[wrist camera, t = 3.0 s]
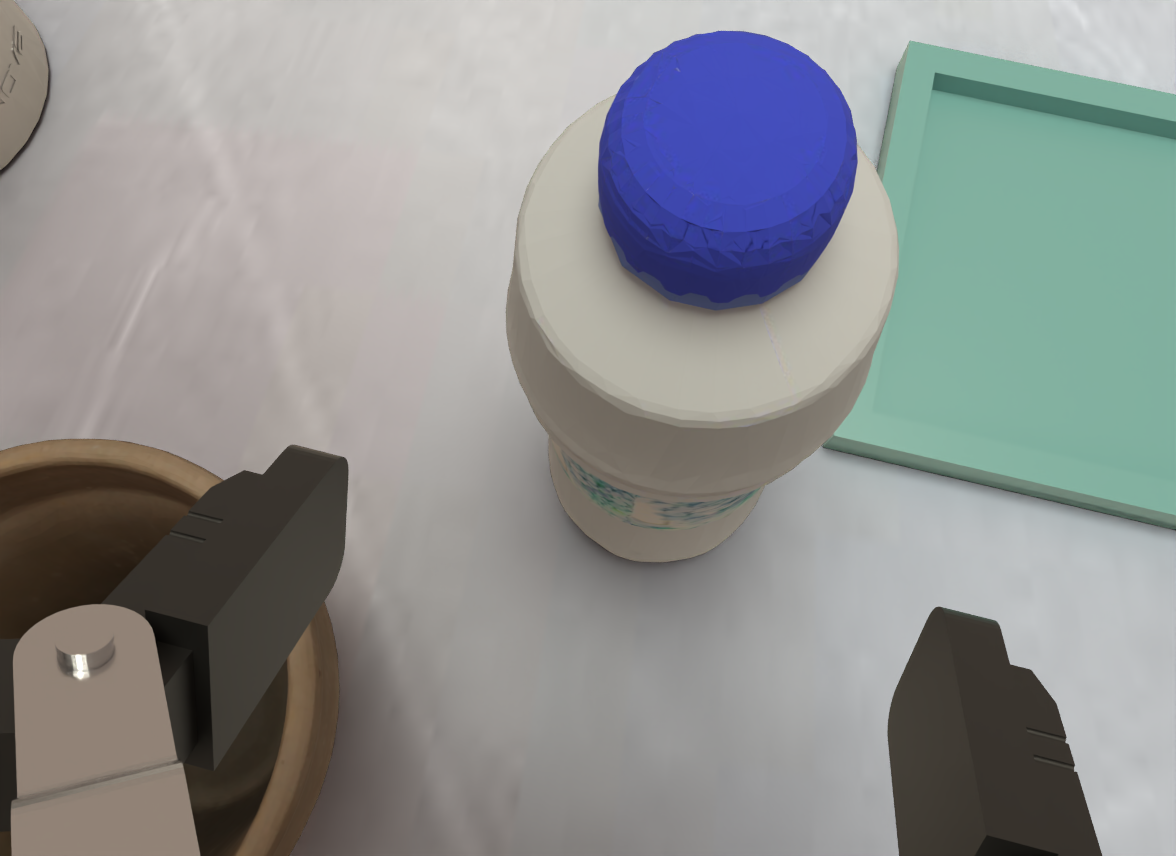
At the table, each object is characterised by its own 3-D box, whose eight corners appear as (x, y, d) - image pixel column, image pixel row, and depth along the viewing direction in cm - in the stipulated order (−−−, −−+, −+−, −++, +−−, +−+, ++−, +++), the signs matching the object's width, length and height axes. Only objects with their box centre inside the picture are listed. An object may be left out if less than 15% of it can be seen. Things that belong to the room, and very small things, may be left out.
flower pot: (79, 492, 31) (-156, 403, 22) (436, 535, 31) (359, 463, 21) (-21, 886, 29) (-344, 989, 19) (371, 940, 28) (248, 1074, 18)
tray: (823, 447, 31) (833, 435, 30) (896, 67, 35) (909, 40, 33) (1277, 553, 30) (1311, 547, 29) (1308, 152, 34) (1339, 127, 32)
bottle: (585, 342, 32) (561, -170, 13) (785, 404, 32) (1070, -38, 12) (517, 538, 31) (373, 283, 11) (726, 607, 30) (945, 462, 11)
